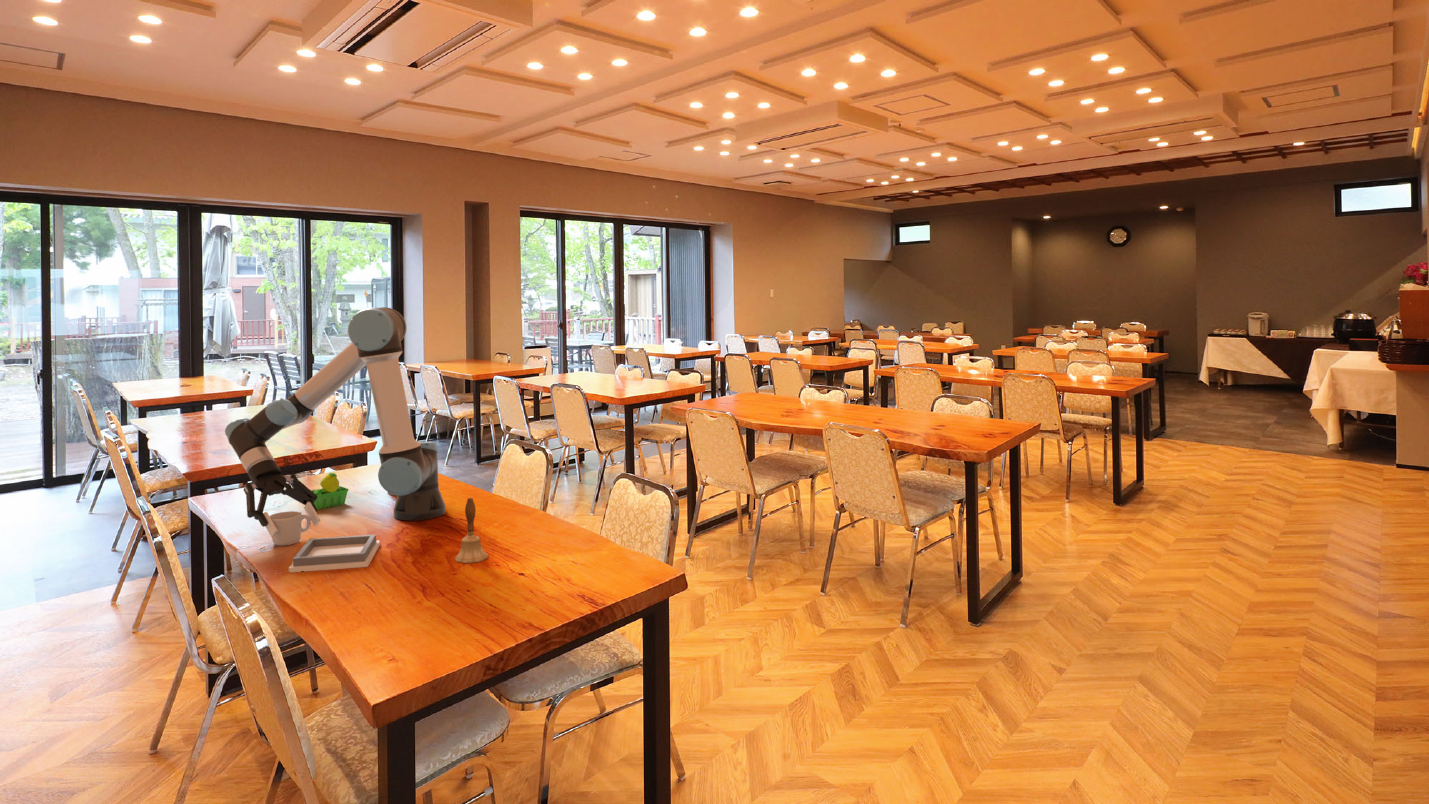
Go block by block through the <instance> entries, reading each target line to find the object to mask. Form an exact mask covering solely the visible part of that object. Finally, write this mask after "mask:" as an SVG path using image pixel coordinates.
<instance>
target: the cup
mask: <svg viewBox="0 0 1429 804" xmlns="http://www.w3.org/2000/svg"><path fill="white" fill-rule="evenodd" d="M269 516H270V518H271V520H272V522H273V523H274V525H275V527H276V529H277V530H278V531H277V533H276V535H275V536H274V537H271V539H272V540H271V541H272V543H273V544H274V545H275V546H277V547H278V546H280V547H281V546H282V547H283V546H291V545H295V544H297V543H298V542H299V541H300V540H301V533H304V532H306V531H308V530H309V529H310V528H311V524H312V521H311V519H310V517H309V516H308V514H302V513H301V512H299V511H295V510H294V511H292V510H291V511H281V512H277V513H273V514H271V515H269ZM304 519H306V520H305V521H306V525H305V527H302V522H303V520H304Z"/></svg>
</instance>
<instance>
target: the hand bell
mask: <svg viewBox="0 0 1429 804" xmlns="http://www.w3.org/2000/svg"><path fill="white" fill-rule="evenodd" d="M464 510H465V511H464V512H465V513H464V515H465V518H466V521H467V526H466V527H467V532H466V535H465V536H464V537H462V539H461V547H460V550H459V552H458V554H457V555H455V558H454V560H455V562H457V563H461V564H462V563H463V564H473V563H479V562H482V561H485V560H487V559H488V558H489V555H488V553H487V552H485V550H484V549H483V547H482V543H481V538H480V536H477V535H475V525H474V522H475V517H476V512H477V511H476V505H475V502H474V499H473V497H468V498H467V500H466V504H465V507H464Z"/></svg>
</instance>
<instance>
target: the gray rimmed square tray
mask: <svg viewBox="0 0 1429 804" xmlns="http://www.w3.org/2000/svg"><path fill="white" fill-rule="evenodd" d="M380 545H381V540H379V539H378V540H377V534H375V533H374V534H364V535H363V534H361V535H347V536H345V535H344V536H333V537H331V536H329V537H317V538H316V537H315V538H309V539H308V540H307V541H306V542H305V544H304V545H303V546H302V548H300V549H299V551H298V552H297V553H296V554H295V555H294V556H293V558H292V564H291V565H290V566H289V567H288V573H302V572H301V571H304V572H315V571H330V570H342V569H357V568H368V567H369V565H370V563H371V562H372V560H373V559H374V556H375V555H376V553H377V551H378V549H379V548H380Z"/></svg>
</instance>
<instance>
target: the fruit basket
mask: <svg viewBox="0 0 1429 804" xmlns="http://www.w3.org/2000/svg"><path fill="white" fill-rule="evenodd" d="M319 484H320V487H321V488H319V489H313V490H311V491H312V492H313V493H315V494H316V495H317V496H318V497H317V499H316V501H315V502H314V505H315V506H316V508H317V510H323V509H327V508H326V507H328V508H331V507H330V506H332V507H337V506H341V505H340V504H342V505H345V503H346V499H347V495H348V493H349V490H350V489H349V488H347V487H344V486H340V481H339V479H338V476H337V474H336V473H335V472H328V474H327V475H325V477H323V478H322V479H321V481H320V483H319Z"/></svg>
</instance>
